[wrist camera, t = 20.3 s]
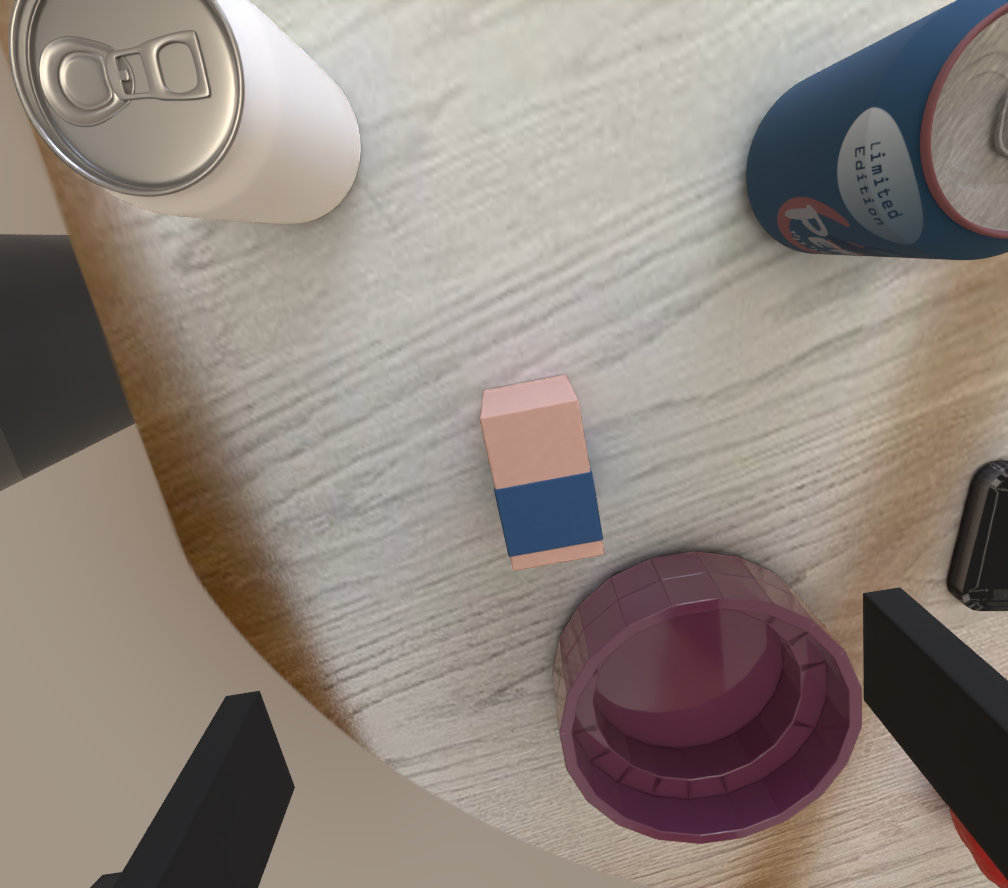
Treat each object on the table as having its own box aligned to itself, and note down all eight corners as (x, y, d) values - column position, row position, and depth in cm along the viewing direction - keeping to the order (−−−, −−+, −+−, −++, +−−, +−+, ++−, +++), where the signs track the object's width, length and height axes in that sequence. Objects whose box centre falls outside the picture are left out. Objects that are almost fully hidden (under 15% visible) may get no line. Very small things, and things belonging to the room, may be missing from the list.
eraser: (510, 522, 32) (512, 572, 27) (482, 390, 30) (478, 419, 25) (590, 507, 32) (606, 555, 27) (567, 373, 30) (579, 399, 25)
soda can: (729, 256, 28) (885, 269, 17) (740, 81, 26) (926, -42, 15) (886, 249, 28) (1149, 256, 17) (909, 72, 26) (1229, -57, 15)
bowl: (573, 781, 37) (583, 860, 33) (533, 570, 33) (538, 626, 28) (816, 746, 37) (863, 821, 32) (808, 525, 32) (861, 575, 28)
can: (191, 68, 26) (-56, -67, 14) (346, 45, 26) (221, -110, 14) (231, 233, 28) (44, 230, 16) (376, 214, 28) (288, 197, 16)
